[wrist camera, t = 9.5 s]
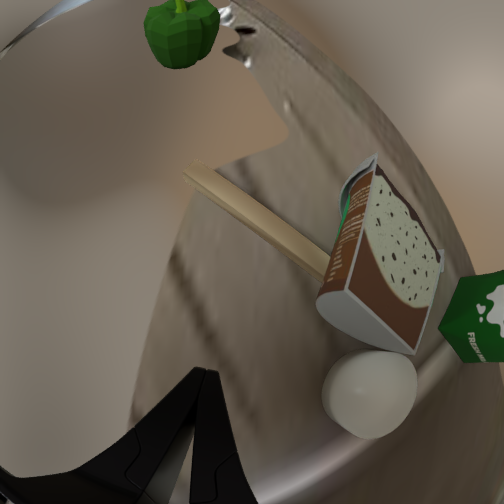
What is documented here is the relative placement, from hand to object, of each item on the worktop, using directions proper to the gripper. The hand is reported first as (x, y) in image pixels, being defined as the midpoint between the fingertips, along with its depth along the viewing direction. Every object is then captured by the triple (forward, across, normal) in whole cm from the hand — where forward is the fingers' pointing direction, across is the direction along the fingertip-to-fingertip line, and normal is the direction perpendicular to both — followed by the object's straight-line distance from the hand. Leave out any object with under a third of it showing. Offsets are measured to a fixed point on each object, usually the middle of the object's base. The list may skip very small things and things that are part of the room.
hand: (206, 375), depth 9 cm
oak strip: (+15, -2, 0) cm, 15 cm away
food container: (+8, -8, +3) cm, 12 cm away
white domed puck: (+8, -12, +10) cm, 17 cm away
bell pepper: (+27, +12, -17) cm, 34 cm away
